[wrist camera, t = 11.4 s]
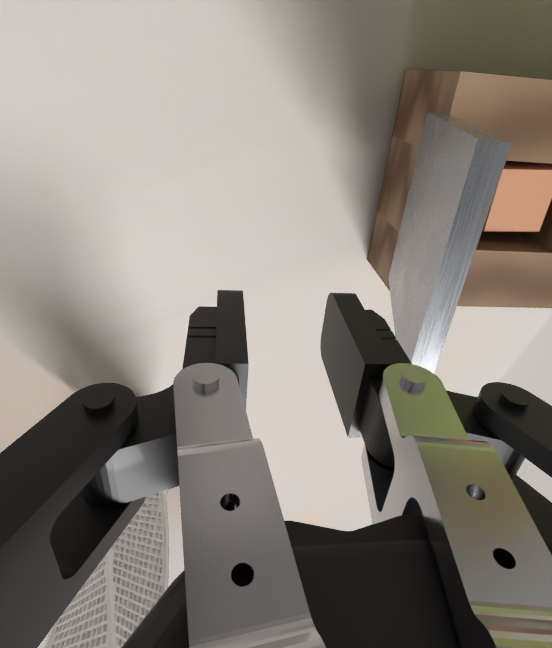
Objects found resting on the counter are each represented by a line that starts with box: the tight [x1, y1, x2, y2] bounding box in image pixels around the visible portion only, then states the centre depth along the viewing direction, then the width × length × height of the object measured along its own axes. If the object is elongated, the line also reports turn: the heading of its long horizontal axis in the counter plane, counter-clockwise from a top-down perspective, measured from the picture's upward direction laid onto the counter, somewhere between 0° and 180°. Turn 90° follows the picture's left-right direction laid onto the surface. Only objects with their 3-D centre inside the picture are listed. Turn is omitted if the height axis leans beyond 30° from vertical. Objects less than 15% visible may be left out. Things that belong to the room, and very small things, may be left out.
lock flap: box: [388, 112, 512, 373], centre depth 21 cm, size 12×10×1 cm
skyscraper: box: [44, 397, 169, 648], centre depth 32 cm, size 8×8×28 cm
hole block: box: [367, 70, 552, 308], centre depth 30 cm, size 14×14×8 cm
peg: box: [482, 160, 552, 232], centre depth 30 cm, size 4×4×7 cm
